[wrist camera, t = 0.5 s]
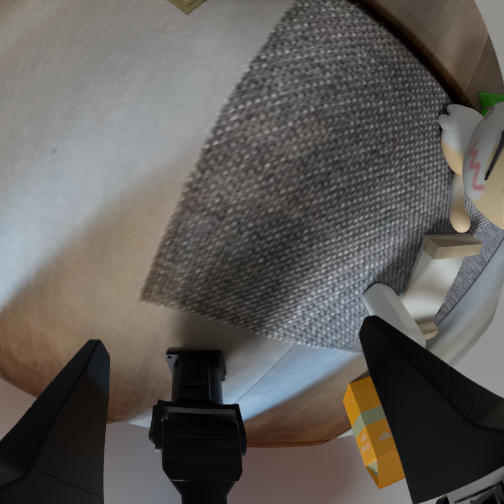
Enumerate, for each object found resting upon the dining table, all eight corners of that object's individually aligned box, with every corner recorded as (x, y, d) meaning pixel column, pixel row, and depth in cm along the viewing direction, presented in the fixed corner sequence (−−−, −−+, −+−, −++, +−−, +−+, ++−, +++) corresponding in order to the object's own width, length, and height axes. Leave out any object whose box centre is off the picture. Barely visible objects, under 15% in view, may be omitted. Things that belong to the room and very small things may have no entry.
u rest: (426, 325, 34) (434, 336, 32) (381, 337, 33) (388, 350, 31) (470, 233, 25) (482, 244, 23) (424, 234, 24) (438, 247, 22)
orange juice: (348, 383, 39) (386, 486, 22) (393, 367, 39) (436, 461, 23) (342, 401, 43) (372, 491, 27) (383, 387, 44) (417, 471, 27)
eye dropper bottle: (394, 271, 26) (455, 356, 16) (395, 303, 29) (443, 381, 19) (359, 288, 27) (413, 381, 17) (364, 319, 30) (407, 402, 20)
